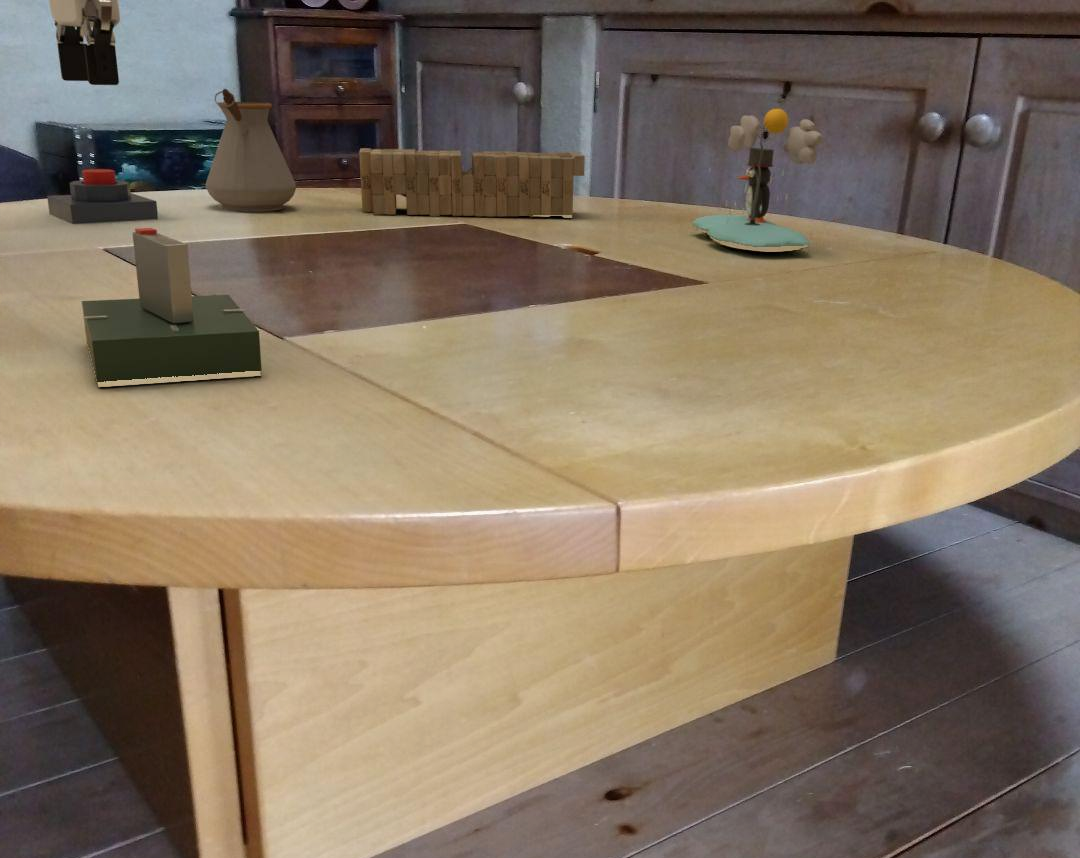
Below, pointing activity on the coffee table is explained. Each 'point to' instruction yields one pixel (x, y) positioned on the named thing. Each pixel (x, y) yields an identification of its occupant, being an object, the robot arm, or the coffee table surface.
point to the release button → (99, 176)
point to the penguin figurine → (762, 183)
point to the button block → (101, 204)
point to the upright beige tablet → (163, 276)
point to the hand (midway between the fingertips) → (90, 82)
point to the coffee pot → (248, 161)
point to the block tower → (469, 182)
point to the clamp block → (169, 340)
